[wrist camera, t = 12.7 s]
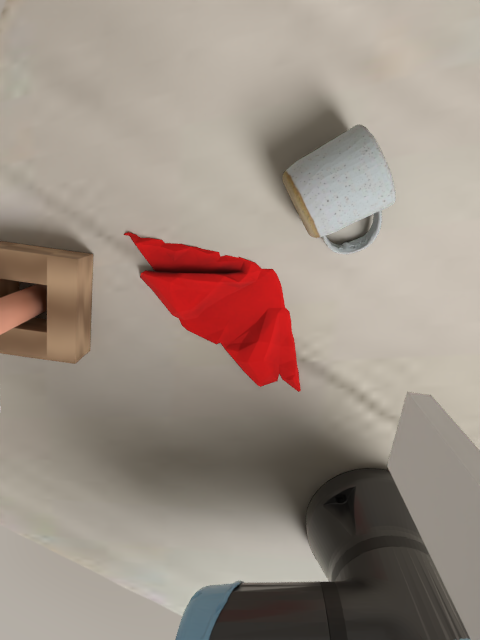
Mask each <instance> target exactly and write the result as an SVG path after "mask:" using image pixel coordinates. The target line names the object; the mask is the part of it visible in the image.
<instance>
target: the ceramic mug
mask: <svg viewBox="0 0 480 640" xmlns="http://www.w3.org/2000/svg"><path fill="white" fill-rule="evenodd" d="M282 180H283V183H284V185H285V187H286V189H287V192H288V194H289V196H290V198H291V200H292V202H293V204H294V206H295V208H296V210H297V212H298V214H299V216H300V218H301V220H302V222H303V224H304V226H305V228H306V230H307V232H308V233H309V235H310V236H312V237H315V238H318V237H321V238H322V239H323V241H324V242H325V244H326V245H327V246H328V247H329V248H330V249H331V250H332V251H334V252H336V253H339V254H351V253H355V252H358V251H360V250H363V249H365V248H366V247H368V246H369V245H370V244H371V243H372V242H373V241H374V240H375V239H376V237H377V235H378V233H379V231H380V228H381V223H382V210H383V209H385V208H387V207H389V206H391V205H393V204H394V202H395V199H396V192H395V187H394V182H393V178H392V175H391V172H390V169H389V167H388V164H387V162H386V160H385V157H384V155H383V153H382V151H381V149H380V147H379V145H378V143H377V141H376V139H375V138H374V136H373V135H372V134H371V133H370V132H369V131H368V129H367V128H366V127H364V126H362V125H356V126H354V127H353V128H351V129H349V130H348V131H346V132H344V133H343V134H341V135H340V136H338V137H336V138H335V139H333V140H331V141H329V142H328V143H326V144H324V145H323V146H321V147H320V148H318V149H317V150H315V151H313V152H311V153H310V154H308V155H306V156H305V157H303V158H301V159H299V160H298V161H296V162H295V163H294V164H293V165H291V166H290V167H289V168H288V169H287V170H286V171H285V172H284V174H283V177H282ZM372 214H374V217H373V223H372V226H371V228H370V230H369V231H368V232H367V233H366V234H365V235H364V236H363V237H361V238H358V239H356V240H353V241H351V242H345V243H343V244H342V245H337V244H335V243H332V242H330V241H329V239H328V238H327V237H326V235H329V234H332V233H334V232H336V231H338V230H340V229H342V228H344V227H346V226H348V225H350V224H352V223H354V222H356V221H359V220H361V219H363V218H366V217H368V216H370V215H372Z"/></svg>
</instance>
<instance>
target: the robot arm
mask: <svg viewBox="0 0 480 640" xmlns="http://www.w3.org/2000/svg"><path fill="white" fill-rule="evenodd" d="M0 411H1V408H0ZM387 467H388V469H389V471H386V470H381V469H359V470H354V471H350V472H346V473H343V474H341V475H339V476H337V477H335V478H333V479H331V480H330V481H328V482H327V483H326V484H324V485H323V486H322V487H321V488H320V489H319V490H318V491H317V492H316V494H315V495H314V496H313V498H312V500H311V502H310V504H309V506H308V509H307V513H306V529H307V536H308V541H309V545H310V548H311V550H312V553H313V555H314V556H315V558H316V560H317V561H318V563H319V565H320V566H321V568H322V570H323V572H324V573H325V575H326V577H327V579H328V580H329V582H284V583H244V582H242V581H237V582H235V583H233V584H224V585H211V586H206V587H203V588H201V589H200V590H198V591H197V592H196V593H195V594H194V596H193V597H192V598H191V600H190V602H189V604H188V605H187V607H186V609H185V611H184V614H183V617H182V619H181V622H180V626H179V629H178V632H177V636H176V640H480V450H479V449H478V448H477V447H476V446H475V445H474V443H473V442H472V441H471V440H470V439H469V438H468V437H467V435H466V434H465V433H464V432H463V431H462V430H461V429H460V428H459V426H458V425H457V424H456V423H455V422H454V421H453V420H452V418H451V417H450V416H449V415H448V414H447V413H446V412H445V410H444V409H443V408H442V407H441V406H440V405H439V404H438V402H437V401H436V400H435V399H434V398H433V397H432V396H431V395H427V394H419V393H412V392H407V394H406V398H405V401H404V405H403V409H402V412H401V416H400V420H399V423H398V427H397V431H396V434H395V438H394V442H393V445H392V449H391V453H390V456H389V460H388V464H387Z"/></svg>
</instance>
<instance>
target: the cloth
mask: <svg viewBox="0 0 480 640" xmlns="http://www.w3.org/2000/svg"><path fill="white" fill-rule="evenodd" d="M124 235H128V236H130V237H131V239H132V240H133V242H134V243H135V245H136V246H137V248H138V249H139V250H140V252H141V253H142V255H143V256H144V257H145V259H146V260H147V261H148V263H149V264H150V265H151V266H152V268H153V269H154V270H155V271H144V272H142V273H141V276H140V277H141V278H142V279H143V281H144V282H145V283H146V284H147V285H148V286H149V287H150V288H151V289H152V290H153V292H154V293H155V294H156V295H157V296H158V298H159V299H160V300H161V301H162V303H163V304H164V305H165V306H166V308H167V309H168V310H169V311H170V313H171V314H172V315H173V316H175V317H177V318H179V320H180V322H181V324H182V326H183V327H185V328H186V329H187V330H188V331H190V332H192V333H194V334H196V335H198V336H200V337H203V338H205V339H207V340H209V341H211V342H213V343H215V344H218V343H221V344H222V346H223V347H224V348H225V350H226V351H227V352H228V353H229V354H230V355H231V357H232V358H233V359H234V360H235V361H236V363H237V364H238V365H239V366H240V367H241V368H242V370H243V371H244V372H245V373H246V374H247V375H248V376H249V377H250V378H251V379H252V380H253V381H254V382H255V383H256V384H257V385H258V386H260V387H261V386H264V385H267V384H270V383H273V382H275V381H277V380H278V376H279V374H280V376H281V378H282V379H283V380H284V381H285V382H287V383H288V384H289V385H291V386H292V387H293V388H294V389H296V390H297V391H298V392H299V391H301V390H300V383H299V372H298V368H297V361H296V351H295V343H294V338H293V334H292V329H291V318H290V313H289V311H288V310H287V309H286V308H285V305H284V299H283V293H282V287H281V283H280V281H279V279H278V276H277V274H276V273H275V271H274V270H273V269H261V268H260V267H259V266H258V265H257V264H256V263H254V262H251V261H249V260H246V259H243V258H241V257H238V258H236V257H232V256H228V255H225V256H221V257H220V254H219V252H215V251H210V250H205V249H201V248H198V247H190V246H186V245H183V244H171V243H164V242H163V240H159V239H153V238H140V237H139V236H137V235H135V234H132V233H129V232H128V233H125V234H124Z"/></svg>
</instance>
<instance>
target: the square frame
mask: <svg viewBox="0 0 480 640" xmlns="http://www.w3.org/2000/svg"><path fill="white" fill-rule="evenodd" d="M92 279H93V254H89V253H82V252H75V251H68V250H61V249H54V248H46V247H39V246H32V245H25V244H18V243H11V242H3V241H0V298H2V297H4V296H7V295H9V294H12V293H15V292H17V291H20V283H19V281H21V282H28V283H35V284H42V285H47V319H42V318H35V317H33V318H31V319H29V320H28V321H26V322H24V323H22V324H20V325H18V326H16V327H14V328H12V329H11V330H9V331H7V332H5V333H3V334H1V335H0V353H2V354H10V355H17V356H24V357H31V358H38V359H45V360H52V361H59V362H66V363H74V364H76V363H77V362H78V361H79V360H80V359H81V358H82V357H83V356H84V355H86V354H87V353H88V352H89V351H90V340H91V309H92Z"/></svg>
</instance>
